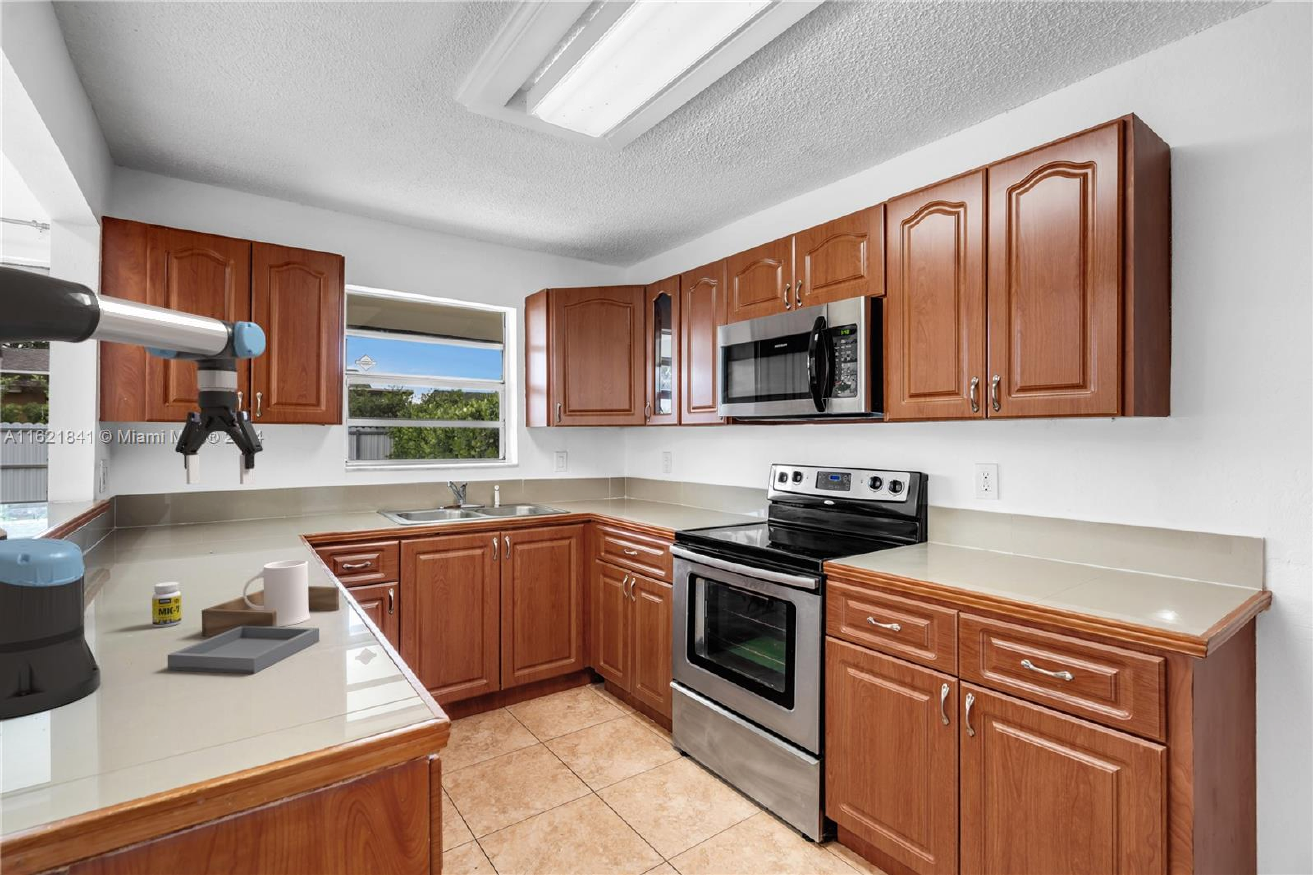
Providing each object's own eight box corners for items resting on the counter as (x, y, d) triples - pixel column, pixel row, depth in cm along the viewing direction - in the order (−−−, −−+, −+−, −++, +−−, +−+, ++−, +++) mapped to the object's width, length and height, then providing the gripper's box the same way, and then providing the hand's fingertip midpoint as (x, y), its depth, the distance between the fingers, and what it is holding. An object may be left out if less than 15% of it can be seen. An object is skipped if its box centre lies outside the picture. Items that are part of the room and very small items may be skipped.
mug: (241, 632, 126) (240, 571, 126) (246, 620, 133) (245, 563, 133) (309, 623, 131) (308, 565, 131) (310, 612, 139) (309, 558, 139)
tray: (254, 673, 104) (254, 658, 104) (167, 669, 106) (167, 654, 106) (319, 641, 120) (319, 628, 120) (242, 638, 122) (242, 625, 122)
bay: (273, 638, 121) (272, 612, 121) (202, 635, 124) (201, 610, 123) (339, 609, 141) (338, 586, 141) (277, 607, 143) (276, 585, 143)
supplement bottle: (156, 629, 128) (155, 587, 128) (149, 625, 131) (148, 584, 131) (185, 623, 132) (184, 583, 132) (177, 619, 135) (176, 580, 135)
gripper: (279, 390, 147) (280, 482, 147) (184, 392, 150) (185, 482, 151) (254, 388, 139) (256, 485, 140) (154, 390, 143) (156, 484, 143)
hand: (219, 483), depth 145 cm, fingers open, 13 cm apart
